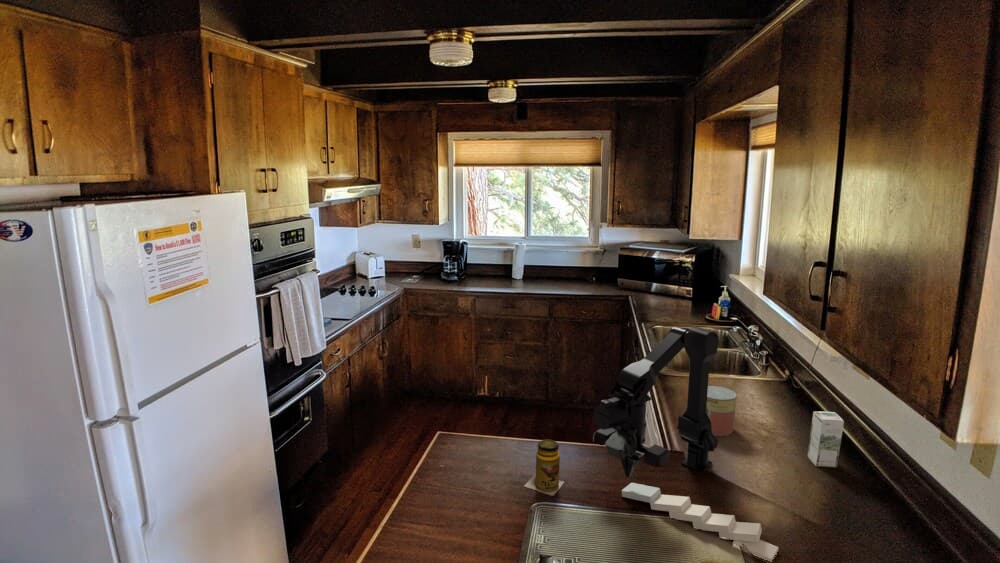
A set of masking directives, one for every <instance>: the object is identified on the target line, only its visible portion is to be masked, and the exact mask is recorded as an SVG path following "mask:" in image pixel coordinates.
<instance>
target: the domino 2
mask: <svg viewBox="0 0 1000 563" xmlns="http://www.w3.org/2000/svg"><path fill="white" fill-rule="evenodd" d="M690 504H692V501H691V497H690V496H684V495H683V496H682V495H670V494H661V495H660V496H659V497H658V498H656V499H655V500H654V501H653V502H652V503H649V505H650V509H651V510H654V511H662V512H669V511H671V512H680V513H683V512H684V511H685V509H686V508H687V507H688V506H689V505H690Z"/></svg>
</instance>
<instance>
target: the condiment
mask: <svg viewBox="0 0 1000 563" xmlns="http://www.w3.org/2000/svg"><path fill="white" fill-rule="evenodd" d="M559 447H560V446H559V444H558V442H557V441H556V440H554V439H550V438H548V439H546V438H545V439H542V440H540V441H539V442H538V444H537V452H536V455H535V456H536V459H535V473H534V474H533V475H532V477H531V478H530V479H529V480H528V481H527V482H526V483H525V484H524V485H523V487H525V488H527V489H530V490H535V491H537V492H539V493H543V494H546V495H549V496H551V497H552V496H553V497H554V496H555V494H556V493H557V492H558V491H559V490H560V489H561V487H562V486H563V485H564V483H565V481H564V480H560V459H561V458H560V457H561V456H560V452H559Z"/></svg>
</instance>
